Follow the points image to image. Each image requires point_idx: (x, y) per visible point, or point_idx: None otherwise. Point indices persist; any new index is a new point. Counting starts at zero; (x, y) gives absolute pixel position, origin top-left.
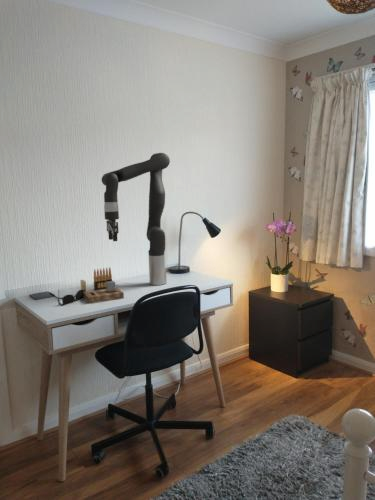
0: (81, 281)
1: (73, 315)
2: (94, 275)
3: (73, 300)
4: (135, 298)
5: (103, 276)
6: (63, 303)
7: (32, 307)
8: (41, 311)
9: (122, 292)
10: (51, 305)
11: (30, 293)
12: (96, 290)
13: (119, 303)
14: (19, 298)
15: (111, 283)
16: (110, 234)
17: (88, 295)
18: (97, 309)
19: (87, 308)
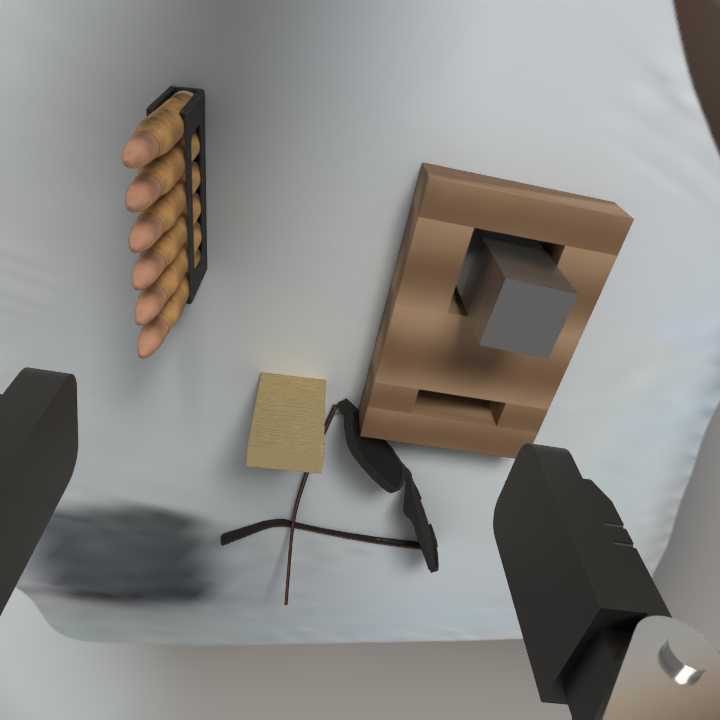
0: (279, 465)
1: (642, 552)
2: (169, 330)
3: (414, 492)
4: (704, 126)
5: (172, 225)
6: (436, 546)
7: (348, 633)
8: (450, 623)
9: (621, 223)
10: (382, 574)
11: (24, 587)
12: (386, 351)
13: (693, 293)
14: (117, 640)
15: (561, 323)
16: (2, 549)
17: (475, 442)
18: (668, 442)
19: (599, 472)
